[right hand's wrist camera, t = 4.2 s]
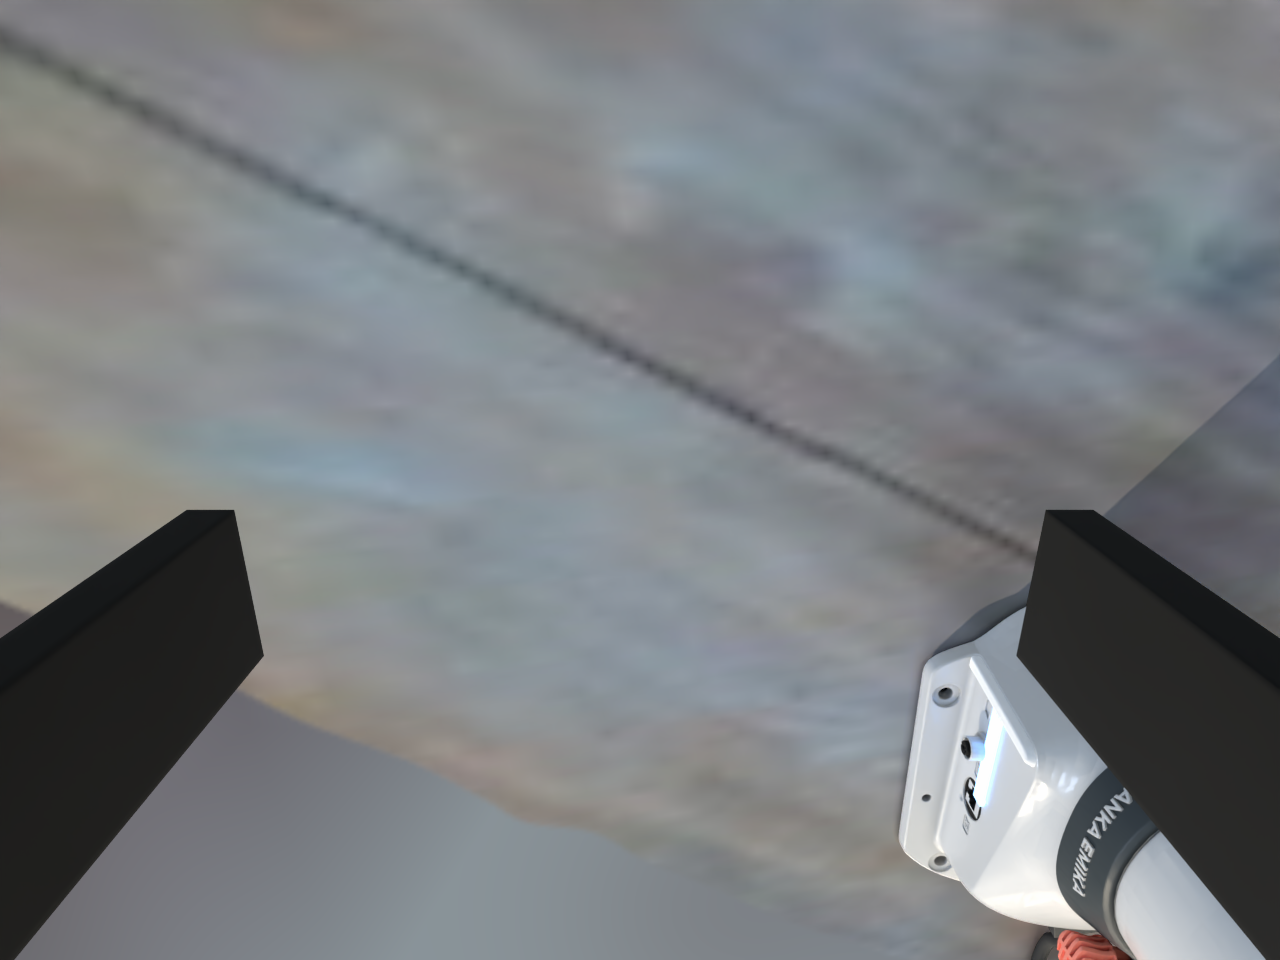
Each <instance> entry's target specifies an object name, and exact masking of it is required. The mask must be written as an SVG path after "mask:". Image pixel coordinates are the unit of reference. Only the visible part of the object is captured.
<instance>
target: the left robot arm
mask: <svg viewBox="0 0 1280 960" xmlns="http://www.w3.org/2000/svg"><path fill="white" fill-rule="evenodd" d="M1025 610H1026V607H1024V608H1022V609H1020V610H1019V611H1017V612H1015V613H1014V614H1012V615H1010V616H1009V617H1007V618H1006V619H1004V620H1003V621H1002V622H1000V623H999V624H998V625H996V626H995V627H994V628H992V629H991V630H990V631H988V632H987V633H986V634H984V635H983V636H981V637H980V638H978V639H976V640H974V641H972V642H969V643H966V644H963V645H960V646H957V647H954V648H951V649H948V650H945V651H943V652H941V653H939V654H937V655H935V656H933V657H932V658H930V659H929V660H928V661H927V663H926V664H925V666H924V669H923V673H922V679H921V686H920V693H919V700H918V706H917V713H916V720H915V727H914V733H913V740H912V747H911V754H910V760H909V767H908V774H907V781H906V787H905V794H904V801H903V808H902V814H901V821H900V829H899V842H900V844H901V846H902V848H903V850H904V851H905V853H906V854H907V855H908V856H909V857H911V858H912V859H913V860H914V861H916V862H917V863H919V864H920V865H922V866H923V867H925V868H927V869H929V870H931V871H933V872H935V873H938V874H940V875H943V876H946V877H949V878H952V879H955V880H959V881H961V882H962V884H963V885H964V886H965V888H966V889H967V890H968V891H969V892H970V893H971V894H972V895H973V896H974V897H975V898H976V899H977V900H978V901H980V902H981V903H983V904H984V905H985V906H987V907H989V908H991V909H993V910H995V911H996V912H998V913H1001V914H1003V915H1006V916H1008V917H1011V918H1014V919H1018V920H1021V921H1025V922H1029V923H1033V924H1038V925H1044V926H1048V927H1049V929H1050V931H1051V932H1048V933H1045V934H1044V935H1043V936H1042V937H1041V938H1040V940H1039V942H1038V943H1037V945H1036V947H1035V949H1034V952H1033V955H1032V958H1031V960H1046V959H1047V957H1048V954H1049V952H1050V951H1051V949H1052V948H1053V947H1057V950H1059V954H1058V958H1059V960H1266V959H1265V958H1264V957H1263V956H1262V954H1261V953H1260V952H1259V951H1258V950H1257V948H1256V947H1255V946H1254V945H1253V944H1252V942H1251V941H1250V940H1249V939H1248V937H1247V936H1246V935H1245V934H1244V933H1243V931H1242V930H1241V929H1240V928H1239V926H1238V925H1237V924H1236V923H1235V922H1234V920H1233V919H1232V918H1231V917H1230V916H1229V914H1228V913H1227V912H1226V911H1225V909H1224V908H1223V907H1222V906H1221V905H1220V903H1219V902H1218V901H1217V900H1216V898H1215V897H1214V896H1213V895H1212V894H1211V892H1210V891H1209V890H1208V889H1207V888H1206V886H1205V885H1204V884H1203V883H1202V881H1201V880H1200V879H1199V878H1198V877H1197V875H1196V874H1195V873H1194V872H1193V870H1192V869H1191V868H1190V867H1189V866H1188V864H1187V863H1186V862H1185V861H1184V860H1183V858H1182V857H1181V856H1180V855H1179V853H1178V852H1177V851H1176V850H1175V849H1174V847H1173V846H1172V845H1171V844H1170V842H1169V841H1168V840H1167V839H1166V838H1165V836H1164V835H1163V834H1162V833H1161V832H1160V830H1159V829H1158V828H1157V827H1156V825H1155V824H1154V823H1153V822H1152V821H1151V819H1150V818H1149V817H1148V816H1147V814H1146V813H1145V812H1144V811H1143V810H1142V808H1141V807H1140V806H1139V805H1138V804H1137V802H1136V801H1135V800H1134V799H1133V797H1132V796H1131V795H1130V794H1129V793H1128V791H1127V790H1126V789H1125V788H1124V786H1123V785H1122V784H1121V783H1120V782H1119V780H1118V779H1117V778H1116V777H1115V776H1114V774H1113V773H1112V772H1111V771H1110V769H1109V768H1108V767H1107V766H1106V765H1105V763H1104V762H1103V761H1102V760H1101V758H1100V757H1099V756H1098V755H1097V754H1096V752H1095V751H1094V750H1093V749H1092V748H1091V746H1090V745H1089V744H1088V743H1087V741H1086V740H1085V739H1084V738H1083V737H1082V735H1081V734H1080V733H1079V732H1078V730H1077V729H1076V728H1075V727H1074V726H1073V724H1072V723H1071V722H1070V721H1069V720H1068V718H1067V717H1066V716H1065V715H1064V713H1063V712H1062V711H1061V710H1060V709H1059V707H1058V706H1057V705H1056V704H1055V702H1054V701H1053V700H1052V699H1051V698H1050V696H1049V695H1048V694H1047V693H1046V692H1045V690H1044V689H1043V688H1042V687H1041V685H1040V684H1039V683H1038V682H1037V681H1036V679H1035V678H1034V677H1033V676H1032V674H1031V673H1030V672H1029V671H1028V670H1027V668H1026V667H1025V666H1024V665H1023V664H1022V662H1021V661H1020V660H1019V659H1018V657H1017V656H1016V654H1017V650H1018V645H1019V640H1020V635H1021V630H1022V625H1023V620H1024V615H1025ZM943 688H947V690H945V691H944V692H939V691H940V690H941V689H943ZM1095 932H1099V933H1100V934H1101V935H1092V936H1087V935H1084V934H1087V933H1095ZM1109 941H1110V942H1111V943H1112V944H1114V945H1115V946H1116V947H1115V946H1112V944H1111V943H1110V942H1109Z"/></svg>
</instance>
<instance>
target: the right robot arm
mask: <svg viewBox="0 0 1280 960" xmlns="http://www.w3.org/2000/svg"><path fill="white" fill-rule="evenodd" d="M263 656H264V654H263V650H262V645H261V640H260V635H259V630H258V625H257V620H256V615H255V610H254V605H253V600H252V595H251V591H250V586H249V581H248V576H247V571H246V566H245V561H244V556H243V551H242V546H241V541H240V536H239V532H238V527H237V522H236V517H235V512H234V510H186V511H185V512H183V513H182V514H180V515H179V516H177V517H176V518H174V519H173V520H171V521H170V522H169V523H167V524H166V525H164V526H163V527H161V528H160V529H158V530H157V531H155V532H154V533H153V534H151V535H150V536H148V537H147V538H145V539H144V540H142V541H141V542H140V543H138V544H137V545H135V546H134V547H132V548H131V549H129V550H128V551H126V552H125V553H124V554H122V555H121V556H119V557H118V558H116V559H115V560H113V561H112V562H110V563H109V564H108V565H106V566H105V567H103V568H102V569H100V570H99V571H97V572H96V573H94V574H93V575H92V576H90V577H89V578H87V579H86V580H84V581H83V582H81V583H80V584H79V585H77V586H76V587H74V588H73V589H71V590H70V591H68V592H67V593H65V594H64V595H63V596H61V597H60V598H58V599H57V600H55V601H54V602H52V603H51V604H49V605H48V606H47V607H45V608H44V609H42V610H41V611H39V612H38V613H36V614H35V615H33V616H32V617H31V618H29V619H28V620H26V621H25V622H23V623H22V624H20V625H19V626H18V627H16V628H15V629H13V630H12V631H10V632H9V633H7V634H6V635H4V636H3V637H2V638H0V960H14V959H15V958H16V957H17V956H18V954H19V953H20V952H21V951H22V950H23V948H24V947H25V946H26V945H27V944H28V942H29V941H30V940H31V939H32V937H33V936H34V935H35V934H36V933H37V931H38V930H39V929H40V928H41V926H42V925H43V924H44V923H45V922H46V920H47V919H48V918H49V917H50V915H51V914H52V913H53V912H54V911H55V909H56V908H57V907H58V906H59V905H60V903H61V902H62V901H63V900H64V898H65V897H66V896H67V895H68V894H69V892H70V891H71V890H72V889H73V887H74V886H75V885H76V884H77V883H78V881H79V880H80V879H81V878H82V876H83V875H84V874H85V873H86V872H87V870H88V869H89V868H90V867H91V866H92V864H93V863H94V862H95V861H96V860H97V858H98V857H99V856H100V855H101V853H102V852H103V851H104V850H105V849H106V847H107V846H108V845H109V844H110V842H111V841H112V840H113V839H114V838H115V836H116V835H117V834H118V833H119V831H120V830H121V829H122V828H123V827H124V825H125V824H126V823H127V822H128V820H129V819H130V818H131V817H132V816H133V814H134V813H135V812H136V811H137V810H138V808H139V807H140V806H141V805H142V804H143V802H144V801H145V800H146V799H147V797H148V796H149V795H150V794H151V792H152V791H153V790H154V789H155V788H156V786H157V785H158V784H159V783H160V782H161V780H162V779H163V778H164V777H165V775H166V774H167V773H168V772H169V771H170V769H171V768H172V767H173V766H174V765H175V763H176V762H177V761H178V760H179V758H180V757H181V756H182V755H183V754H184V752H185V751H186V750H187V749H188V748H189V746H190V745H191V744H192V743H193V741H194V740H195V739H196V738H197V737H198V735H199V734H200V733H201V732H202V730H203V729H204V728H205V727H206V726H207V724H208V723H209V722H210V721H211V720H212V718H213V717H214V716H215V715H216V713H217V712H218V711H219V710H220V709H221V707H222V706H223V705H224V704H225V702H226V701H227V700H228V699H229V698H230V696H231V695H232V694H233V693H234V692H235V690H236V689H237V688H238V687H239V685H240V684H241V683H242V682H243V681H244V679H245V678H246V677H247V676H248V674H249V673H250V672H251V671H252V670H253V668H254V667H255V666H256V665H257V664H258V662H259V661H260V660H261V659H262V657H263ZM1016 656H1017V657H1018V659H1019V660H1020V661H1021V662H1022V664H1023V665H1024V666H1025V667H1026V668H1027V670H1028V671H1029V672H1030V673H1031V674H1032V676H1033V677H1034V678H1035V679H1036V681H1037V682H1038V683H1039V684H1040V685H1041V687H1042V688H1043V689H1044V690H1045V692H1046V693H1047V694H1048V695H1049V696H1050V698H1051V699H1052V700H1053V701H1054V702H1055V704H1056V705H1057V706H1058V707H1059V709H1060V710H1061V711H1062V712H1063V713H1064V715H1065V716H1066V717H1067V718H1068V720H1069V721H1070V722H1071V723H1072V724H1073V726H1074V727H1075V728H1076V729H1077V730H1078V732H1079V733H1080V734H1081V735H1082V737H1083V738H1084V739H1085V740H1086V741H1087V743H1088V744H1089V745H1090V746H1091V748H1092V749H1093V750H1094V751H1095V752H1096V754H1097V755H1098V756H1099V757H1100V758H1101V760H1102V761H1103V762H1104V763H1105V765H1106V766H1107V767H1108V768H1109V769H1110V771H1111V772H1112V773H1113V774H1114V776H1115V777H1116V778H1117V779H1118V780H1119V782H1120V783H1121V784H1122V785H1123V786H1124V788H1125V789H1126V790H1127V791H1128V793H1129V794H1130V795H1131V796H1132V797H1133V799H1134V800H1135V801H1136V802H1137V804H1138V805H1139V806H1140V807H1141V808H1142V810H1143V811H1144V812H1145V813H1146V814H1147V816H1148V817H1149V818H1150V819H1151V821H1152V822H1153V823H1154V824H1155V825H1156V827H1157V828H1158V829H1159V830H1160V832H1161V833H1162V834H1163V835H1164V836H1165V838H1166V839H1167V840H1168V841H1169V842H1170V844H1171V845H1172V846H1173V847H1174V849H1175V850H1176V851H1177V852H1178V853H1179V855H1180V856H1181V857H1182V858H1183V860H1184V861H1185V862H1186V863H1187V864H1188V866H1189V867H1190V868H1191V869H1192V870H1193V872H1194V873H1195V874H1196V875H1197V877H1198V878H1199V879H1200V880H1201V881H1202V883H1203V884H1204V885H1205V886H1206V888H1207V889H1208V890H1209V891H1210V892H1211V894H1212V895H1213V896H1214V897H1215V898H1216V900H1217V901H1218V902H1219V903H1220V905H1221V906H1222V907H1223V908H1224V909H1225V911H1226V912H1227V913H1228V914H1229V916H1230V917H1231V918H1232V919H1233V920H1234V922H1235V923H1236V924H1237V925H1238V926H1239V928H1240V929H1241V930H1242V931H1243V933H1244V934H1245V935H1246V936H1247V937H1248V939H1249V940H1250V941H1251V942H1252V944H1253V945H1254V946H1255V947H1256V948H1257V950H1258V951H1259V952H1260V953H1261V954H1262V956H1263V957H1264V958H1265V959H1266V960H1280V638H1278V637H1277V636H1276V635H1274V634H1273V633H1271V632H1270V631H1268V630H1267V629H1265V628H1264V627H1262V626H1261V625H1260V624H1258V623H1257V622H1255V621H1254V620H1252V619H1251V618H1249V617H1248V616H1247V615H1245V614H1244V613H1242V612H1241V611H1239V610H1238V609H1236V608H1235V607H1233V606H1232V605H1231V604H1229V603H1228V602H1226V601H1225V600H1223V599H1222V598H1220V597H1219V596H1217V595H1216V594H1215V593H1213V592H1212V591H1210V590H1209V589H1207V588H1206V587H1204V586H1203V585H1201V584H1200V583H1199V582H1197V581H1196V580H1194V579H1193V578H1191V577H1190V576H1188V575H1187V574H1186V573H1184V572H1183V571H1181V570H1180V569H1178V568H1177V567H1175V566H1174V565H1172V564H1171V563H1170V562H1168V561H1167V560H1165V559H1164V558H1162V557H1161V556H1159V555H1158V554H1156V553H1155V552H1154V551H1152V550H1151V549H1149V548H1148V547H1146V546H1145V545H1143V544H1142V543H1140V542H1139V541H1138V540H1136V539H1135V538H1133V537H1132V536H1130V535H1129V534H1127V533H1126V532H1125V531H1123V530H1122V529H1120V528H1119V527H1117V526H1116V525H1114V524H1113V523H1111V522H1110V521H1109V520H1107V519H1106V518H1104V517H1103V516H1101V515H1100V514H1098V513H1097V512H1095V511H1094V510H1046V512H1045V517H1044V522H1043V527H1042V532H1041V536H1040V541H1039V546H1038V551H1037V556H1036V561H1035V566H1034V571H1033V576H1032V581H1031V586H1030V591H1029V595H1028V600H1027V605H1026V610H1025V615H1024V620H1023V625H1022V630H1021V635H1020V640H1019V645H1018V650H1017V654H1016Z"/></svg>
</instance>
